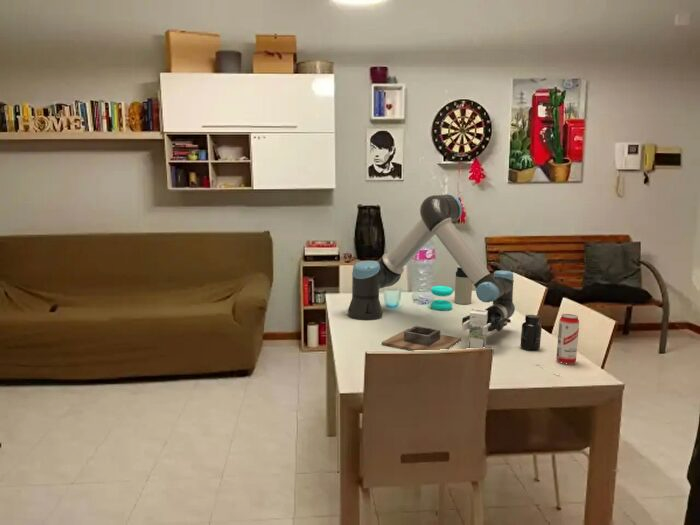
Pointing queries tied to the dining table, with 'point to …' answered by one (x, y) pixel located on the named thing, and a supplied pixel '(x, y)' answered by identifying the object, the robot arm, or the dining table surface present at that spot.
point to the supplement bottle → (531, 333)
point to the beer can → (567, 338)
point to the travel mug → (462, 287)
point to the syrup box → (477, 328)
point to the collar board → (421, 339)
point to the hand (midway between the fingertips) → (473, 329)
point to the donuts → (441, 304)
